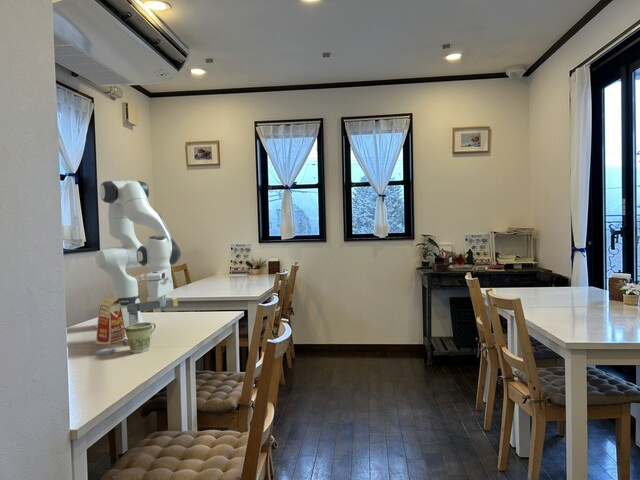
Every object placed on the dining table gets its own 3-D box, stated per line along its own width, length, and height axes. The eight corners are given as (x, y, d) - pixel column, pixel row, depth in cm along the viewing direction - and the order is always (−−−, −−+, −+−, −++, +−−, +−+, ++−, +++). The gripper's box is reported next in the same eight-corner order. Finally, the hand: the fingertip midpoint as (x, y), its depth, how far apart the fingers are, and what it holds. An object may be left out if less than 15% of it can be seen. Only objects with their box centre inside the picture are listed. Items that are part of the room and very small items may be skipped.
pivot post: (123, 342, 192) (120, 312, 191) (142, 338, 196) (140, 309, 196) (127, 346, 185) (125, 315, 185) (147, 342, 190) (145, 312, 189)
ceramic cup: (138, 355, 171) (136, 329, 170) (120, 352, 175) (118, 327, 175) (165, 346, 182) (163, 321, 181) (148, 344, 187) (146, 319, 186)
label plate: (95, 354, 175) (95, 351, 175) (102, 351, 179) (102, 348, 179) (109, 354, 174) (109, 351, 174) (116, 351, 178) (115, 348, 178)
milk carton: (95, 343, 192) (92, 296, 191) (112, 337, 201) (109, 292, 200) (112, 344, 189) (108, 296, 188) (128, 338, 198) (125, 293, 197)
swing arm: (128, 313, 187) (127, 305, 187) (126, 311, 191) (125, 304, 191) (178, 306, 198) (177, 298, 198) (175, 304, 202) (175, 297, 202)
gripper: (161, 272, 204) (164, 302, 204) (143, 276, 184) (146, 310, 184) (175, 271, 204) (178, 301, 204) (159, 275, 183) (161, 309, 184)
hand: (163, 306), depth 194 cm, fingers closed
